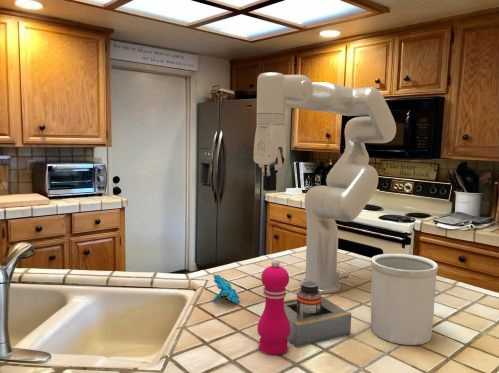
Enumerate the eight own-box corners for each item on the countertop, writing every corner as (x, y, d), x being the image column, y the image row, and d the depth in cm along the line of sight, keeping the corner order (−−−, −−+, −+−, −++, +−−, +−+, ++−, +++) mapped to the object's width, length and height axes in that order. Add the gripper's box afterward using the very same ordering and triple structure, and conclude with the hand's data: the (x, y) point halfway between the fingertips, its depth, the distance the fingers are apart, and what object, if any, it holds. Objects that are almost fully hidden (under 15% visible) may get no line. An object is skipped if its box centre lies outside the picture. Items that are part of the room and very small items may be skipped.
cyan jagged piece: (239, 304, 111) (214, 276, 112) (223, 319, 111) (198, 291, 112) (244, 294, 122) (220, 269, 123) (229, 308, 122) (206, 282, 123)
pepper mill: (255, 340, 95) (257, 254, 93) (286, 339, 95) (289, 254, 93) (258, 356, 88) (260, 264, 85) (292, 355, 88) (295, 264, 86)
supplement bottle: (299, 321, 105) (300, 278, 104) (322, 325, 103) (324, 281, 102) (293, 331, 99) (295, 285, 98) (318, 335, 98) (320, 289, 96)
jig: (318, 313, 110) (319, 294, 109) (350, 334, 98) (351, 313, 98) (268, 323, 104) (269, 302, 103) (296, 347, 92) (296, 324, 91)
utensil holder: (355, 324, 104) (358, 255, 102) (401, 315, 110) (405, 250, 108) (397, 352, 91) (402, 274, 89) (447, 340, 97) (453, 266, 95)
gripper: (245, 121, 115) (244, 187, 117) (272, 120, 101) (271, 194, 104) (269, 122, 118) (268, 186, 120) (298, 121, 105) (296, 193, 107)
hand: (269, 190), depth 112 cm, fingers closed
